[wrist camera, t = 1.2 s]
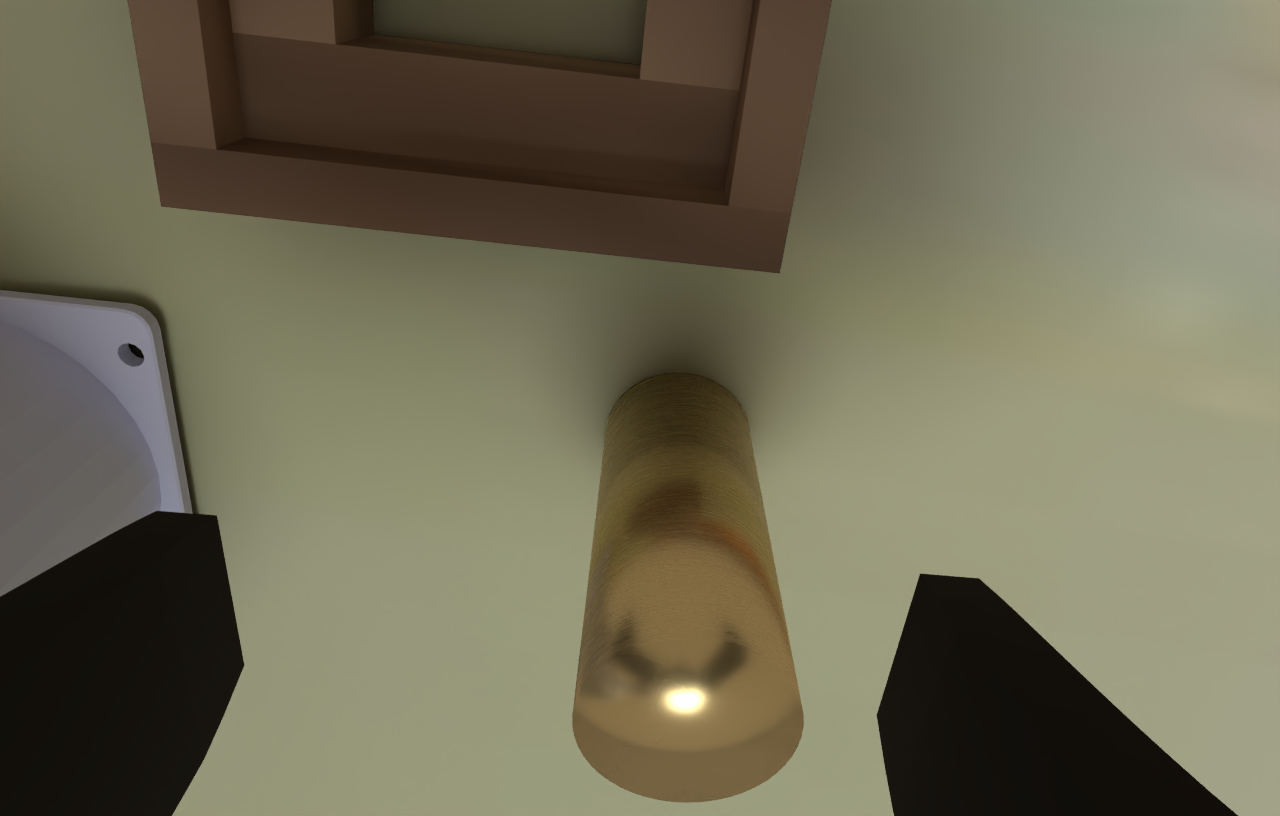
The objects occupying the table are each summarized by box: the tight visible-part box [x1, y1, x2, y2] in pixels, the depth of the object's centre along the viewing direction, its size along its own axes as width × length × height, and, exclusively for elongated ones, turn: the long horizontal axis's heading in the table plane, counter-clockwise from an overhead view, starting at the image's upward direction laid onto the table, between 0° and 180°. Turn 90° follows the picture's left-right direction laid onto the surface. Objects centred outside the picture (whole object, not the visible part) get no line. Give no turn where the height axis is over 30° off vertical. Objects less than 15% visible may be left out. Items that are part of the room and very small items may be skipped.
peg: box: [573, 373, 803, 802], centre depth 15 cm, size 3×3×8 cm
